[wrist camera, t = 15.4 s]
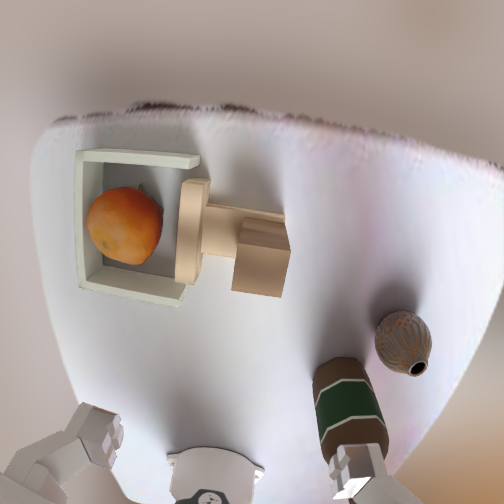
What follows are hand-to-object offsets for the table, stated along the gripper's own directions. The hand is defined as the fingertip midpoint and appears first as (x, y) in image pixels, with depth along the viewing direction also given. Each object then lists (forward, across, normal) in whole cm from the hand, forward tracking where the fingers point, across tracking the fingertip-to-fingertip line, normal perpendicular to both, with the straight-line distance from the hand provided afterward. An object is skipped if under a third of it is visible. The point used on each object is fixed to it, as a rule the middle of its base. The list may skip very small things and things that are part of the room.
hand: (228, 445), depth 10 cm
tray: (+25, -12, 0) cm, 28 cm away
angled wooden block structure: (+25, -2, 0) cm, 25 cm away
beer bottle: (+25, +14, -18) cm, 34 cm away
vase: (+25, +20, -9) cm, 33 cm away
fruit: (+25, -13, 0) cm, 28 cm away
